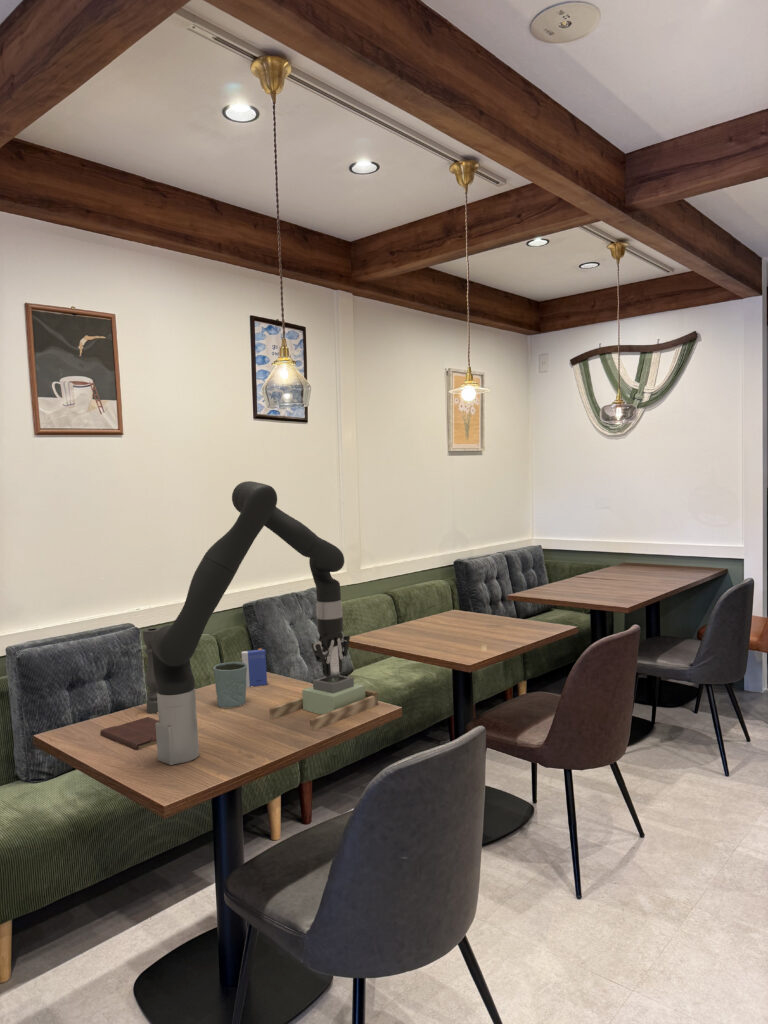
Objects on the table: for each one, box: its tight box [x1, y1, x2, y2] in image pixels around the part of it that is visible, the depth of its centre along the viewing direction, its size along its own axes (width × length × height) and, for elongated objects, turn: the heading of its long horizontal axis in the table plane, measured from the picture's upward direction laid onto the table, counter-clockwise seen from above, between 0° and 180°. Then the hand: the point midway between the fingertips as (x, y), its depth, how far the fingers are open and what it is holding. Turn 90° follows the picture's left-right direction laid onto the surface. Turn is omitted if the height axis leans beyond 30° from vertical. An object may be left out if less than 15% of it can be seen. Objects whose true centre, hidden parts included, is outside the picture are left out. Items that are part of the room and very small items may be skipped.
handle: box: [325, 645, 341, 683], centre depth 213 cm, size 4×4×12 cm
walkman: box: [241, 648, 268, 688], centre depth 246 cm, size 8×3×12 cm, turn 105°
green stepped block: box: [301, 674, 366, 715], centre depth 214 cm, size 13×13×8 cm
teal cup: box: [213, 661, 247, 709], centre depth 226 cm, size 10×10×12 cm
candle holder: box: [142, 627, 161, 714], centre depth 223 cm, size 6×6×25 cm
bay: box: [268, 689, 379, 732], centre depth 211 cm, size 26×18×5 cm
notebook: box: [99, 716, 159, 751], centre depth 203 cm, size 15×20×2 cm
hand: (332, 673), depth 213 cm, fingers closed on handle, 4 cm apart
